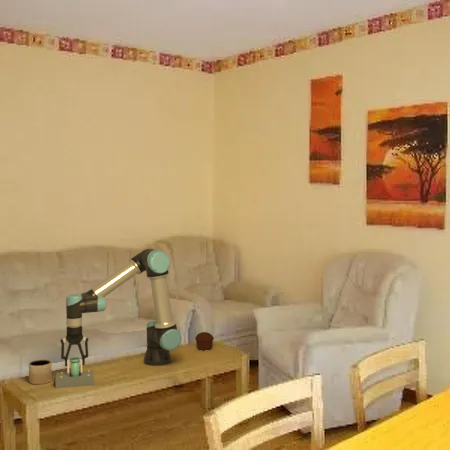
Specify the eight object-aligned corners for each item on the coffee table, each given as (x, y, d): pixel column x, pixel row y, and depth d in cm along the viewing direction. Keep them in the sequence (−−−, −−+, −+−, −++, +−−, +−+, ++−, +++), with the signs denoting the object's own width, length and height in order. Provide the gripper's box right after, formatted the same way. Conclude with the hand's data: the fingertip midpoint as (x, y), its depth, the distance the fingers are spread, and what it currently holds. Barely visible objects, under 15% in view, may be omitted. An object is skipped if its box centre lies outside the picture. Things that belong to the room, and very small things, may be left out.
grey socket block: (93, 377, 294) (93, 368, 294) (93, 385, 282) (93, 375, 282) (57, 380, 290) (56, 371, 290) (55, 387, 278) (55, 378, 278)
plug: (80, 380, 289) (79, 357, 288) (80, 383, 284) (79, 359, 284) (70, 381, 288) (70, 357, 287) (70, 384, 283) (69, 360, 283)
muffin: (217, 348, 350) (217, 332, 350) (206, 352, 342) (206, 335, 341) (203, 345, 358) (202, 329, 357) (191, 349, 349) (191, 333, 349)
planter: (33, 378, 294) (33, 359, 293) (54, 378, 293) (54, 359, 293) (25, 385, 283) (25, 365, 282) (47, 385, 282) (47, 365, 282)
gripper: (93, 323, 291) (94, 368, 292) (55, 325, 286) (55, 371, 287) (93, 326, 283) (94, 373, 284) (54, 328, 279) (55, 375, 280)
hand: (75, 372), depth 286 cm, fingers open, 6 cm apart
